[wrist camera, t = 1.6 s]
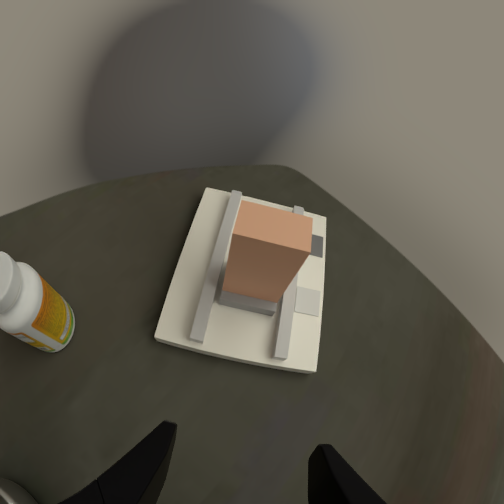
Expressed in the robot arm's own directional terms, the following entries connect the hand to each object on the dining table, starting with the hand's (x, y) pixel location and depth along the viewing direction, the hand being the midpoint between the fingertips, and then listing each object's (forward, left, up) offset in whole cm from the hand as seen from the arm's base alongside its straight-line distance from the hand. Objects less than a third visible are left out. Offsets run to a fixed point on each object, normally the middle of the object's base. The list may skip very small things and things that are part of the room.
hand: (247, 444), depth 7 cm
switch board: (+12, +6, -14) cm, 19 cm away
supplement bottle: (-4, +16, -14) cm, 22 cm away
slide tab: (+10, +5, -12) cm, 16 cm away
